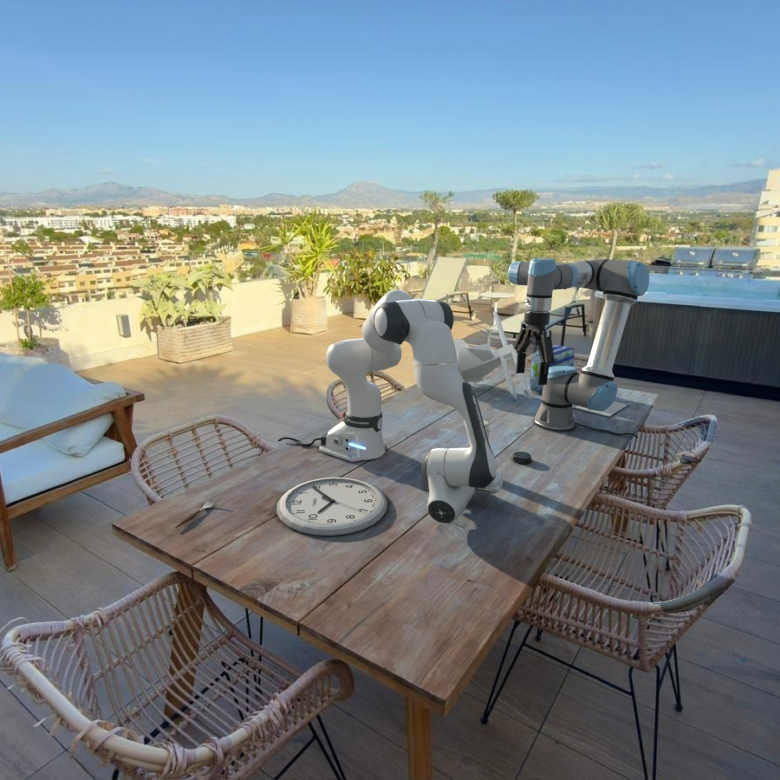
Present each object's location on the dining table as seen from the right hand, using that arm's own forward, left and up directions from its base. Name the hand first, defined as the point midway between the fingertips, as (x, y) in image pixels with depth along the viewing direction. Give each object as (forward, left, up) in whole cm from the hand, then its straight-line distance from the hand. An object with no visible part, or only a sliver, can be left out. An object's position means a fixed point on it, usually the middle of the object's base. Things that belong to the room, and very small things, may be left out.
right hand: (530, 378), depth 164 cm
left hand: (+17, +20, -22) cm, 34 cm away
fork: (+89, +48, -28) cm, 105 cm away
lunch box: (-23, -82, -28) cm, 90 cm away
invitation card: (-41, -61, -28) cm, 79 cm away
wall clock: (+56, +38, -28) cm, 73 cm away
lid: (0, 0, -26) cm, 27 cm away
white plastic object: (+11, -73, -28) cm, 79 cm away
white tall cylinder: (+15, +13, -28) cm, 34 cm away
